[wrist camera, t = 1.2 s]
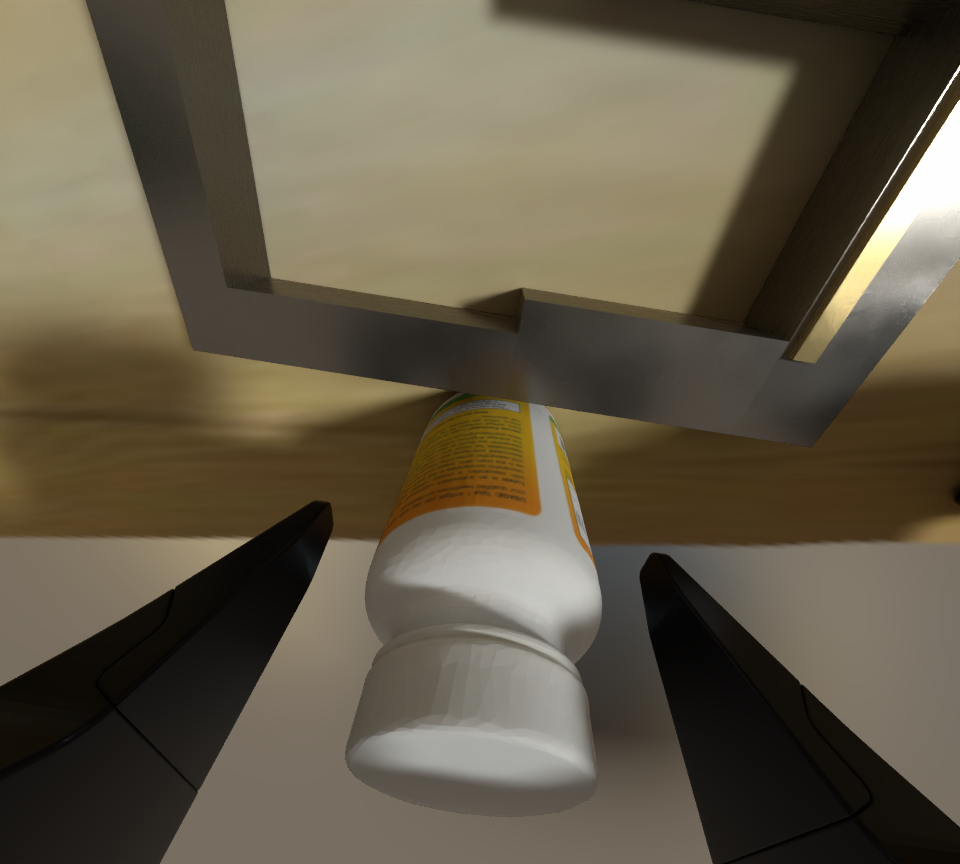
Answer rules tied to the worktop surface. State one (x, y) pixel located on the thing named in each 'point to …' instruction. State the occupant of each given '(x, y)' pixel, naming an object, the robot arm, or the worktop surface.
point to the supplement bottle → (481, 622)
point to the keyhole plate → (557, 317)
